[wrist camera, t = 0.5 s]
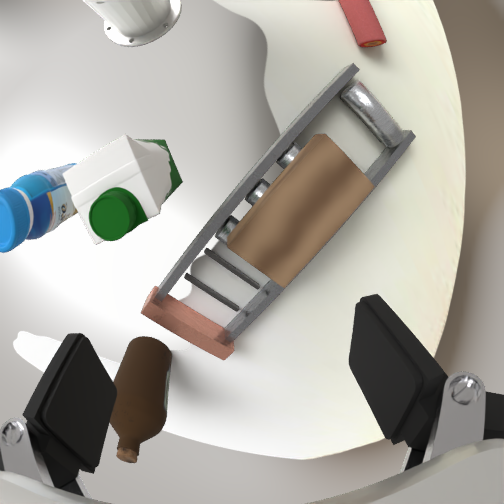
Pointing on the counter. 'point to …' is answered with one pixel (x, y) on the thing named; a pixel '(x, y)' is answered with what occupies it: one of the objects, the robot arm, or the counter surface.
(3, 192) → the beverage bottle
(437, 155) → the counter surface
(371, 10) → the artery
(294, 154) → the roller
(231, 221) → the roller
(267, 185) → the roller
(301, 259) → the slab
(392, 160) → the track
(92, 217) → the milk carton
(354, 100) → the roller
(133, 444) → the olive oil
